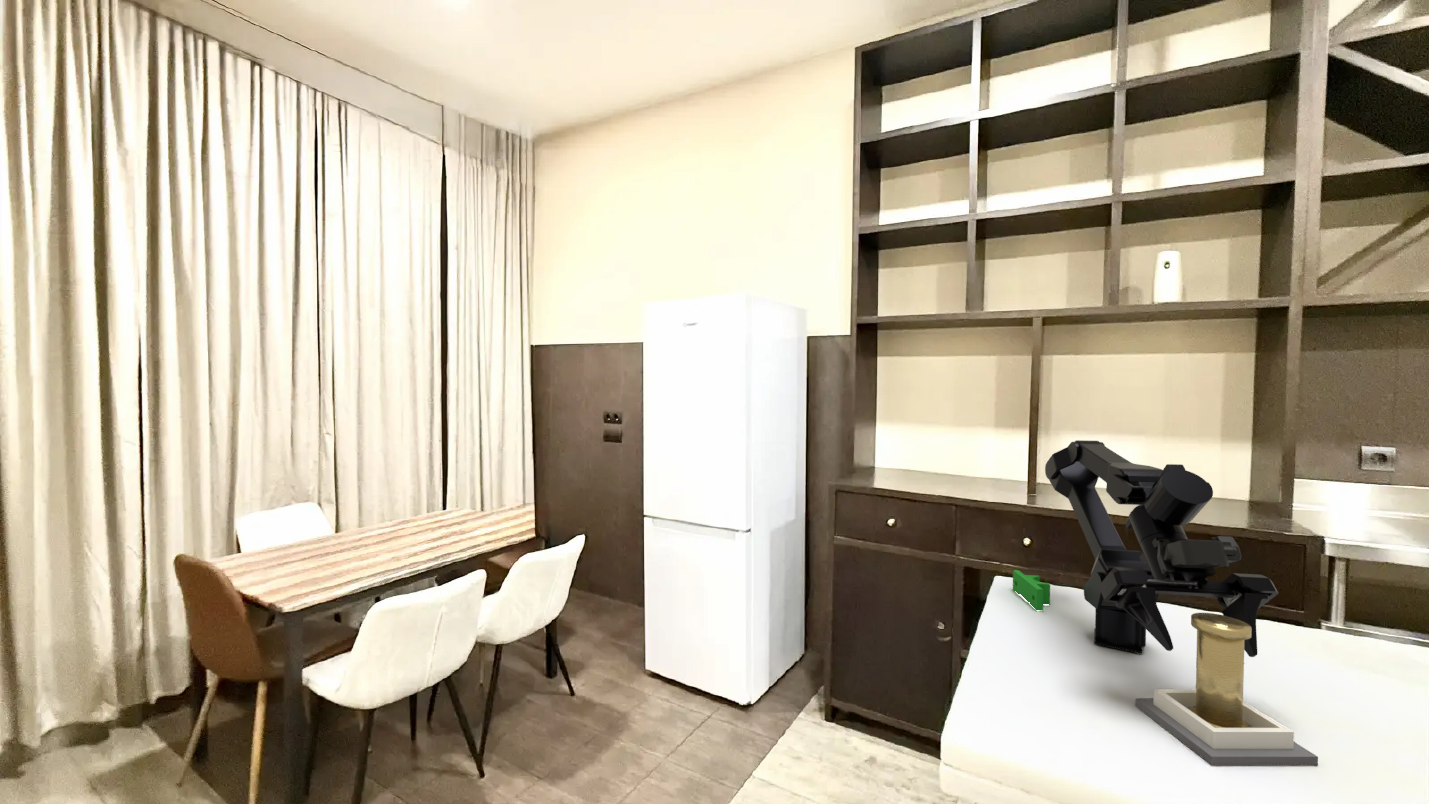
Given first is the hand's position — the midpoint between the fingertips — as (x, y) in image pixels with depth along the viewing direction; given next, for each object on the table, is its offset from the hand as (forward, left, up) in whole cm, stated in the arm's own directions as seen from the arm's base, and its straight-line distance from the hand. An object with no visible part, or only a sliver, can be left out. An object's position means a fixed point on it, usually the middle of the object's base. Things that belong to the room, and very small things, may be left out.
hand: (1211, 652), depth 72 cm
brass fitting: (+1, -1, -8) cm, 8 cm away
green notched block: (-23, +35, -10) cm, 43 cm away
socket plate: (+1, -1, -9) cm, 9 cm away
